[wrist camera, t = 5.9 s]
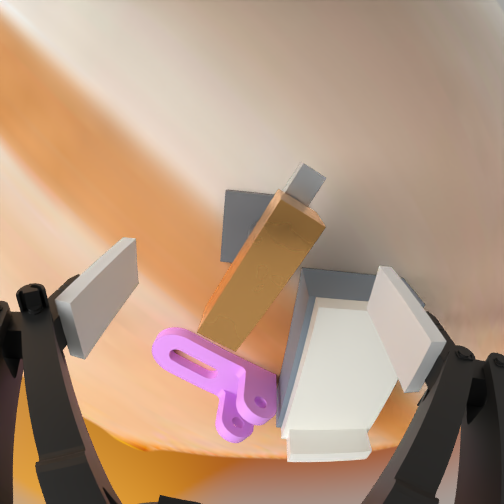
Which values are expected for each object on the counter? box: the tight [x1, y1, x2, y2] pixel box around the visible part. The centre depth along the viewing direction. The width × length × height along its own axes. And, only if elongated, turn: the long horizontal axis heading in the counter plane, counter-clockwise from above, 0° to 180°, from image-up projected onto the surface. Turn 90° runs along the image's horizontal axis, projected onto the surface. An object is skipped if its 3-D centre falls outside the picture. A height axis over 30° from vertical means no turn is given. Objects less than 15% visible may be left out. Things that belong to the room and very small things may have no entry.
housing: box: [220, 190, 425, 427], centre depth 26 cm, size 22×17×5 cm
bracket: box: [152, 327, 277, 443], centre depth 28 cm, size 13×6×7 cm, turn 58°
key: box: [197, 162, 326, 352], centre depth 20 cm, size 3×11×9 cm, turn 150°
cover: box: [281, 297, 424, 462], centre depth 22 cm, size 16×9×4 cm, turn 174°
